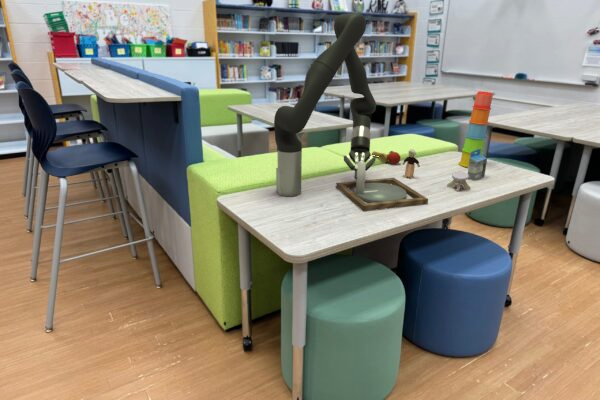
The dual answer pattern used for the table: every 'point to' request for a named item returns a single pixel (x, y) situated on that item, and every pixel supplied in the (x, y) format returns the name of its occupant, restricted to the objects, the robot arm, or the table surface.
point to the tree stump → (459, 180)
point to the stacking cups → (477, 126)
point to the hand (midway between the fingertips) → (358, 179)
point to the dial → (376, 188)
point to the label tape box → (476, 165)
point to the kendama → (388, 157)
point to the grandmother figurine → (410, 164)
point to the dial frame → (416, 200)
